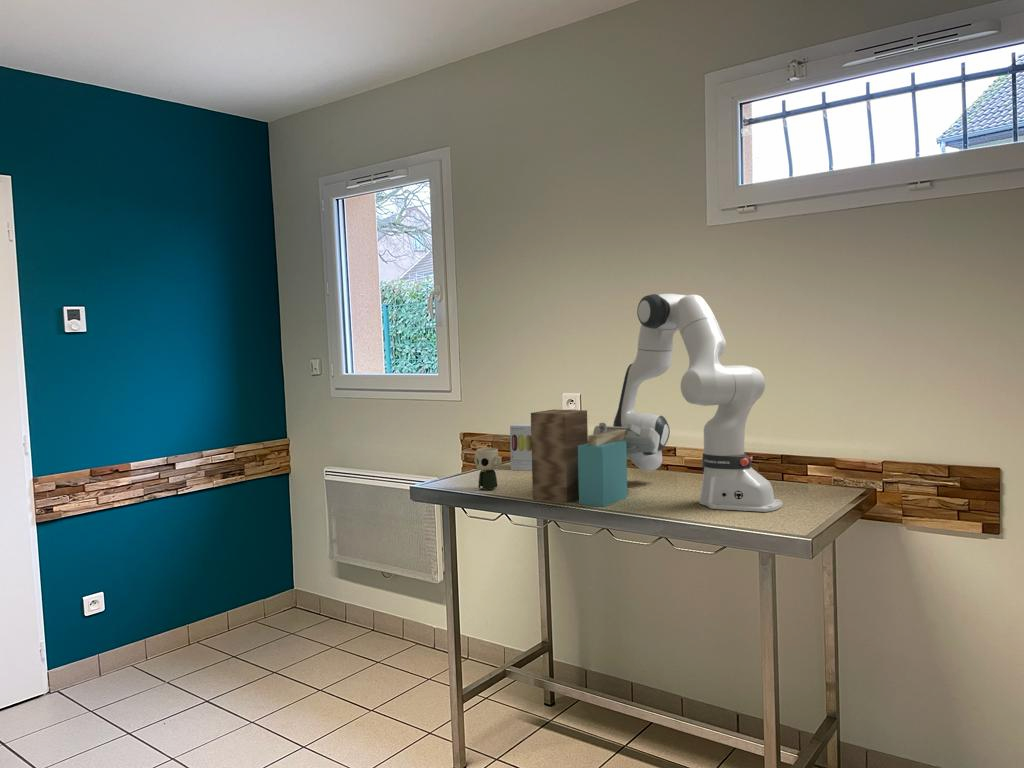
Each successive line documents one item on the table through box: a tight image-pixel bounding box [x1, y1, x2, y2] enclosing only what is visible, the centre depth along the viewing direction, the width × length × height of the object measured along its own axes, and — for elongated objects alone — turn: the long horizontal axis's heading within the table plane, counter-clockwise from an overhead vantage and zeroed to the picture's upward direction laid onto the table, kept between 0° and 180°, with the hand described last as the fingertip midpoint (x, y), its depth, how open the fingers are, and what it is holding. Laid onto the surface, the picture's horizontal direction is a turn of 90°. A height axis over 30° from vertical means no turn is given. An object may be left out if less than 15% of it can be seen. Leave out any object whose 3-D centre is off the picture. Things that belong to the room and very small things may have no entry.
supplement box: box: [509, 422, 532, 471], centre depth 292 cm, size 10×9×17 cm
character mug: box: [474, 447, 501, 490], centre depth 251 cm, size 11×7×13 cm, turn 49°
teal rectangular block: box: [578, 441, 628, 508], centre depth 228 cm, size 8×15×17 cm, turn 145°
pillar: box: [530, 409, 589, 504], centre depth 235 cm, size 12×13×26 cm
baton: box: [588, 429, 627, 446], centre depth 231 cm, size 3×22×3 cm, turn 145°
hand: (615, 425), depth 234 cm, fingers open, 8 cm apart
